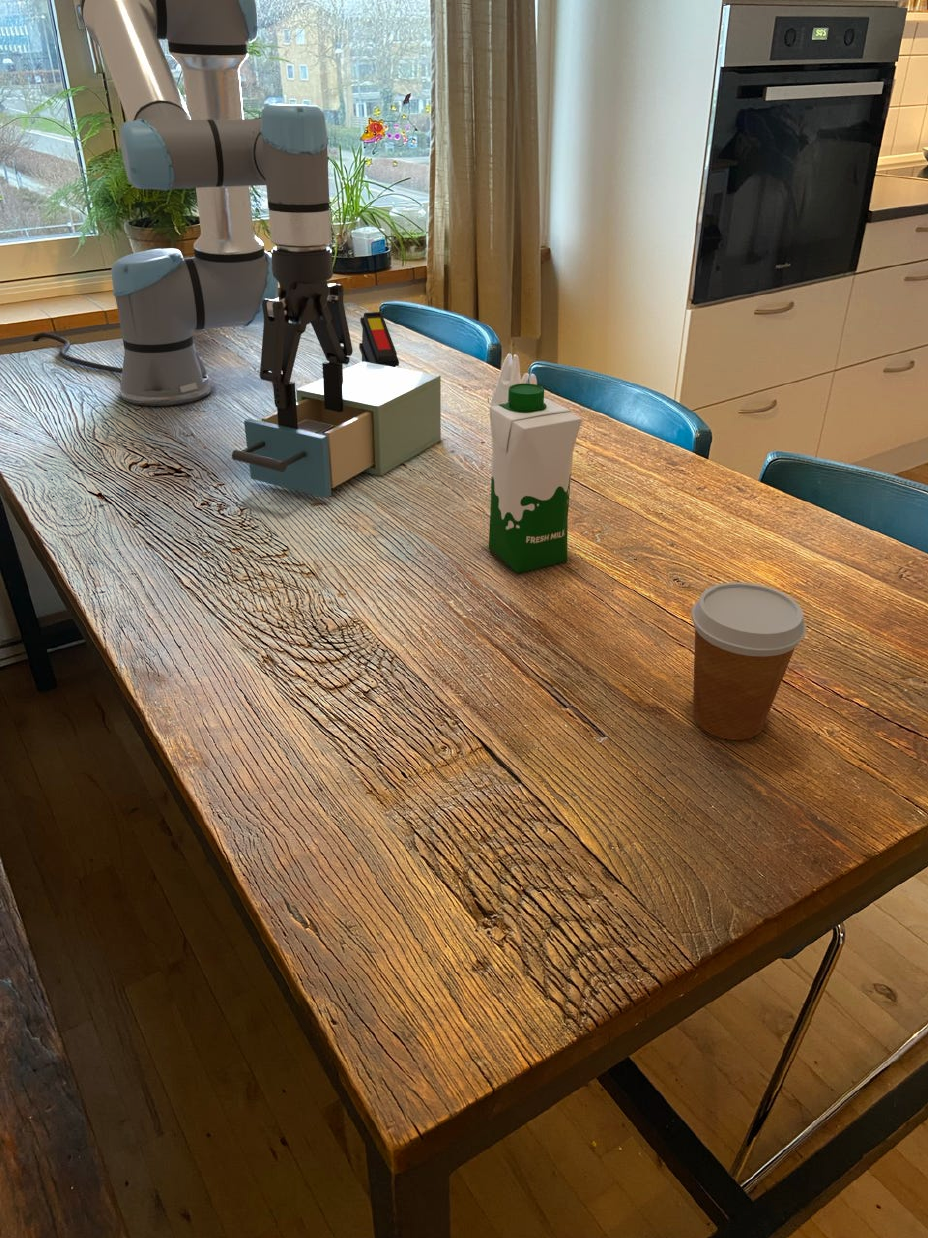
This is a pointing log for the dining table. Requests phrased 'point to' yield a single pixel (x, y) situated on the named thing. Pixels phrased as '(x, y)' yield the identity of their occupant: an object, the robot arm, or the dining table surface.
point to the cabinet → (391, 409)
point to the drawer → (310, 448)
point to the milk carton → (531, 478)
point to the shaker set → (509, 380)
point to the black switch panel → (377, 341)
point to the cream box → (314, 427)
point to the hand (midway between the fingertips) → (311, 419)
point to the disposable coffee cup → (741, 655)
